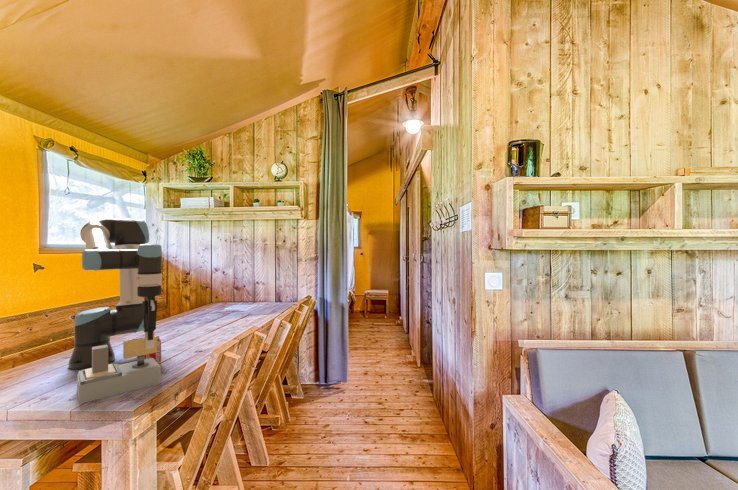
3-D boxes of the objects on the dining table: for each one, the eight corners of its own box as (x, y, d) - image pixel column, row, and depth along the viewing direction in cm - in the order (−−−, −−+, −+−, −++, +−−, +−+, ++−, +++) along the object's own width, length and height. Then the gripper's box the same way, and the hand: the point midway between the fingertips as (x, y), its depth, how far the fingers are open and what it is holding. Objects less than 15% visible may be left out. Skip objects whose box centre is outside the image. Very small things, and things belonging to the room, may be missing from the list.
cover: (84, 373, 108) (84, 346, 109) (112, 367, 114) (112, 341, 114) (86, 382, 101) (86, 353, 102) (115, 375, 107) (115, 347, 107)
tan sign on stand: (123, 367, 113) (123, 340, 113) (156, 360, 120) (156, 335, 120) (124, 369, 111) (124, 342, 112) (157, 362, 118) (157, 336, 119)
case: (77, 390, 109) (77, 370, 109) (152, 372, 124) (152, 355, 124) (79, 404, 99) (79, 382, 99) (161, 383, 114) (161, 364, 114)
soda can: (150, 370, 127) (150, 340, 127) (136, 368, 128) (136, 339, 129) (165, 363, 134) (165, 335, 134) (151, 362, 135) (151, 334, 136)
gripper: (134, 284, 119) (134, 346, 119) (140, 287, 110) (140, 354, 110) (157, 283, 124) (157, 342, 124) (165, 285, 115) (165, 349, 115)
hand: (149, 348), depth 117 cm, fingers closed, pressing on tan sign on stand
